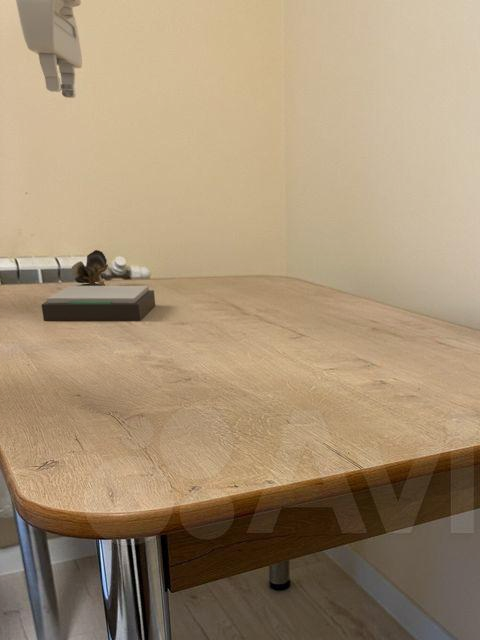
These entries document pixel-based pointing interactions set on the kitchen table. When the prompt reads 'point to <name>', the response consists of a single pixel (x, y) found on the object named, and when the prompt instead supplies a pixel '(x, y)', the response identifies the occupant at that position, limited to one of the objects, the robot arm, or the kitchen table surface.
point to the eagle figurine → (90, 269)
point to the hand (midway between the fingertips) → (62, 94)
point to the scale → (99, 303)
